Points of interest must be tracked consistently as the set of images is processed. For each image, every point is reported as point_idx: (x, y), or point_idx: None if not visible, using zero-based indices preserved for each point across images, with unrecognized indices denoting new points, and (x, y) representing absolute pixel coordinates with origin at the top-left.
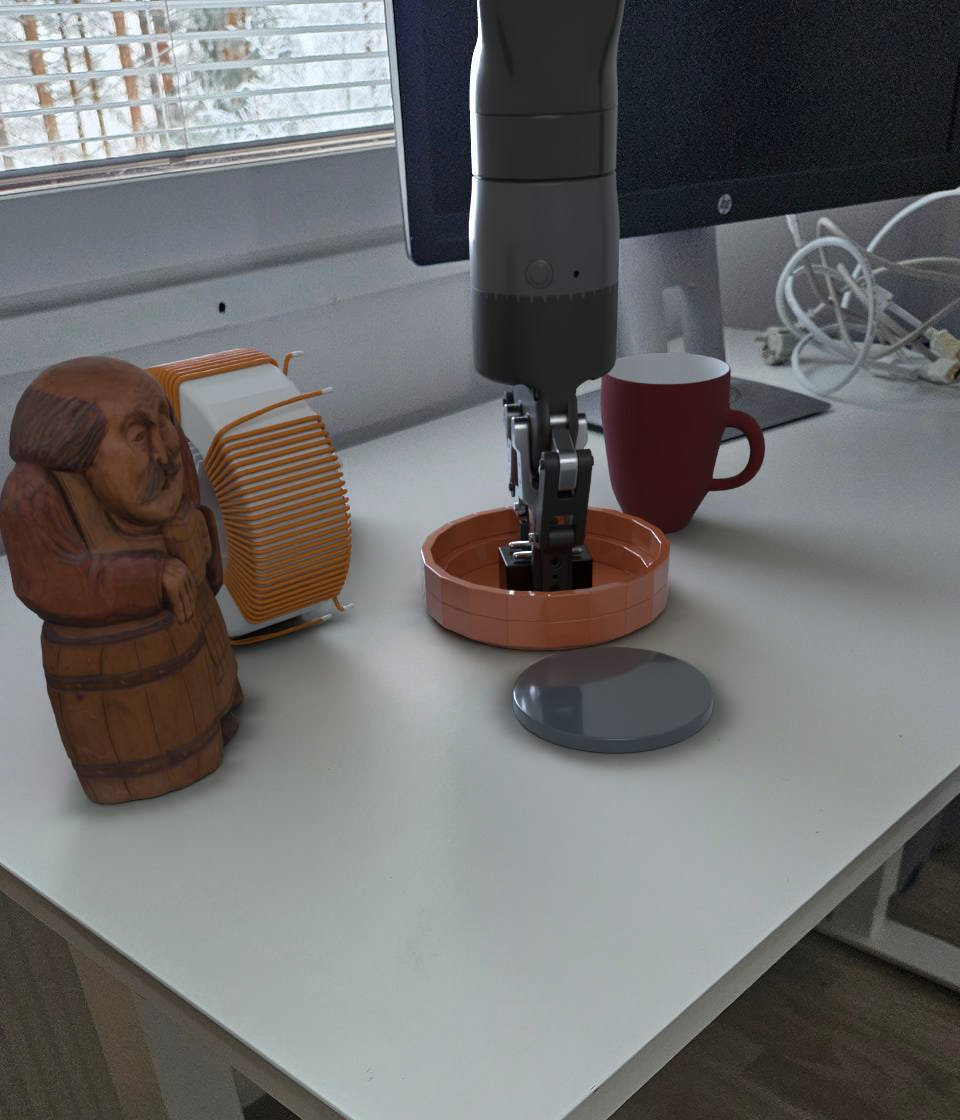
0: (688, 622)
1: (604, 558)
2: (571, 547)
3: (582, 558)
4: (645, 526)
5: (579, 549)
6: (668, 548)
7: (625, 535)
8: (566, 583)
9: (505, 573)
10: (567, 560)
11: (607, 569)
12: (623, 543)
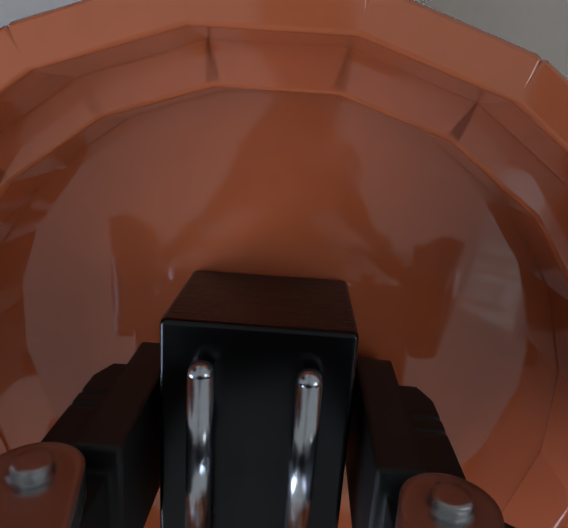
0: (532, 14)
1: (60, 162)
2: (422, 471)
3: (350, 371)
4: (127, 35)
5: (316, 384)
6: (439, 19)
7: (39, 94)
8: (440, 426)
9: None
10: (465, 478)
11: (115, 164)
12: (68, 107)
